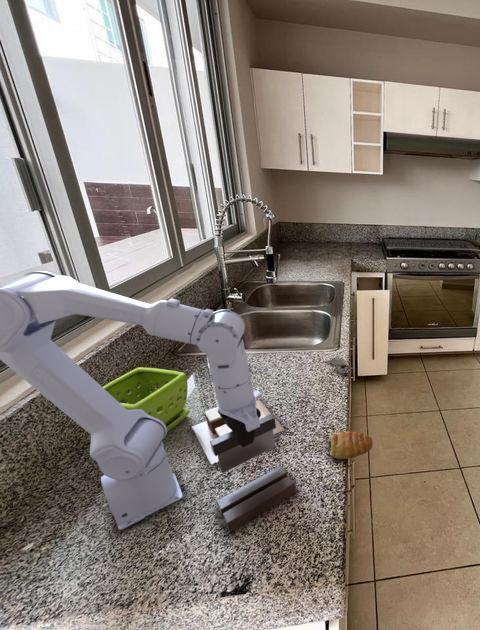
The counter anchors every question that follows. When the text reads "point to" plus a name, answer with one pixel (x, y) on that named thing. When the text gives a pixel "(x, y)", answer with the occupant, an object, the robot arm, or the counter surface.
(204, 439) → the cake board
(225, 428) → the cake front
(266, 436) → the knife
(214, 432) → the cake back
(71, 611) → the counter surface
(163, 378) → the flower pot
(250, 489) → the stand
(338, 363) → the meat cleaver
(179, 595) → the counter surface
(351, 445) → the pastry
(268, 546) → the counter surface
